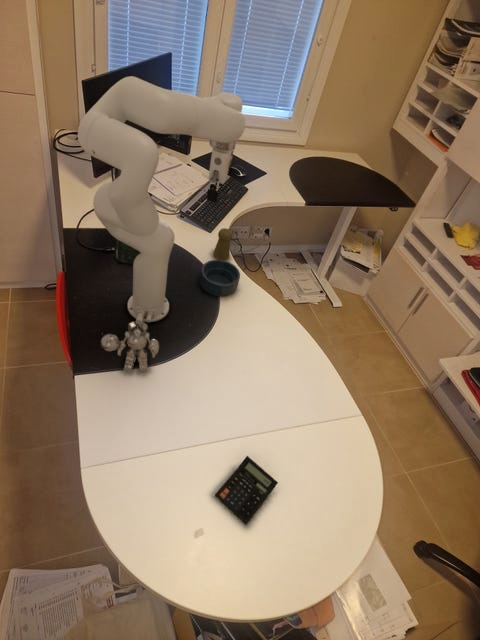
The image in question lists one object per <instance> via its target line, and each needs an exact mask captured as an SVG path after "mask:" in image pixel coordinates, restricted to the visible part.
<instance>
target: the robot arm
mask: <svg viewBox="0 0 480 640" xmlns="http://www.w3.org/2000/svg"><path fill="white" fill-rule="evenodd" d="M242 111H243V99H242V98H241V97H240V96H239V95H237V94H234V93H231V92H221V93H219V94H217V95H216V96H209V97H203V98H201V97H199V96H196V95H194V94H191V93H187V92H182V91H175V90H173V89H167V88H164V87H160V86H158V85H155V84H153V83H150V82H148V81H146V80H143V79H141V78H139V77H137V76H133V75H131V76H125V77H123V78H121V79H120V80H118V81H117V82H115V84H113V85H112V86H111V87H109V88H108V90H107V91H105V93H104V94H103V95H102V96H101V97H100V98H99V99H98V100H97V102H96V103H95V104H94V105H93V106H92V107H91V108H89V110H88V111H87V112H86V113H85V115H84V116H83V118H82V119H81V121H80V122H79V125H78V129H77V141H78V144H79V146H80V147H81V149H82V150H83V152H85V153H87V154H88V155H90V156H91V157H92V158H95V159H96V160H97V159H98V160H99V161H101V162H103V163H106V164H107V165H110V166H111V167H114V168H116V169H118V170H120V175H119V176H117V177H116V178H114V179H113V180H112V181H108V182H105V183H103V184H101V185H100V186H99V187H98V188H97V190H96V191H95V193H94V196H93V200H92V201H93V203H92V204H93V211H94V213H95V216H96V217H97V219H98V220H99V221H100V223H101V224H102V225H103V226H104V228H105V229H106V230H107V231H108V233H109V234H110V235H111V236H112V237H113V238H115V240H117V239H118V240H119V241H121V242H123V243H125V244H127V245H129V246H131V247H133V248H134V249H136V250H138V251H139V252H140V254H139V255H138V256H137V257H136V258H135V260H134V263H133V264H132V274H133V275H132V295H131V296H130V297H129V299H128V301H127V311H128V313H129V314H130V316H131V317H132V318H134V319H135V324H136V325H137V326H139V325H140V324H141V323H142V322H144V323H153V322H158V321H160V320H162V319H164V318H166V316H167V315H168V314H169V311H170V303H169V301H168V299H167V297H166V290H167V280H168V270H169V262H170V258H171V257H170V256H171V253H172V250H173V247H174V243H175V239H176V238H175V233H174V231H173V229H172V228H171V227H170V226H169V225H168V224H166V223H165V222H163V221H161V220H160V217H159V216H160V215H159V212H158V209H157V206H156V205H155V203H154V201H153V199H152V197H151V195H150V192H149V187H150V185H151V183H152V180H153V178H154V176H155V173H156V171H157V169H158V165H159V160H160V152H159V148H158V145H157V144H156V142H155V141H154V139H152V138H151V137H150V136H149V135H148V134H147V133H145V132H143V131H141V130H139V129H137V128H135V127H133V126H131V125H128V124H126V121H129V122H130V123H133V124H135V125H137V126H140V127H142V128H145V129H146V130H149V131H151V132H154V133H156V134H162V135H186V136H190V137H194V138H199V139H203V140H209V146H210V148H211V149H212V150H211V156H210V161H209V162H210V163H209V169H208V170H209V171H208V181H209V185H208V188H207V195H206V201H207V202H208V201H209V202H211V203H217V202H218V198H219V191H220V190H219V187H220V188H221V187H223V185H224V184H225V183H226V179H227V176H228V174H229V169H230V167H229V163H230V157H231V152H232V151H233V152H235V149H236V145H237V144H236V143H237V141H238V140H240V139H241V137H242V136H243V134H244V132H245V129H246V118H245V116H244V114H243V113H242Z"/></svg>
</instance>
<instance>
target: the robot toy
mask: <svg viewBox="0 0 480 640" xmlns="http://www.w3.org/2000/svg"><path fill="white" fill-rule="evenodd" d="M127 330H128V331H125V332H124V338H123V340H120V337H118V335H117V334H114V333H110V332H109V333H106V334H104V335H103V336H101V338H100V347H101V349H102V350H103V351H105V352H108V353H113V352H115V351H117V356H119V357H122V352H123V350H124V349H125V348H126V347H128V349H127V351H126V352H125V362H124V367H123V371H126V372H128V373H132V372H133V370H134V366H135V365H134V363H135V362H136V359H137V362H138V371H139V373H145V372H146V373H147V372H148V371H149V368H148V366H149V365H148V351H147V350H146V349H145V348H146V347H147V348H148V349H149V351H150V353H151V358H155V357H156V355H158V353H159V350H160V341H159V340H158V339H156V338H151V339H150V332H148V330H149V326H148V324H147V323H146V322H144V321H143V322H142V323H141V324H140V325H138V324H136V321H131V322H129V323H128V324H127Z"/></svg>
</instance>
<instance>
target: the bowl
mask: <svg viewBox="0 0 480 640" xmlns="http://www.w3.org/2000/svg"><path fill="white" fill-rule="evenodd" d="M240 279H241V273H240V270H239V268H238V267H236V265H234V264H233V263H231V262H229V261H227V260H225V261H224V260H218V259H211V260H208V261H207V262H204V264H203V265H202V267H201V270H200V276H199V284H200V287H201V289H202V290H203V291H205V292H206V293H208V294H209V295H212V296H215V297H228V296H231V295H233V294H234V293H236V292H237V289H238V286H239V282H240Z"/></svg>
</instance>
